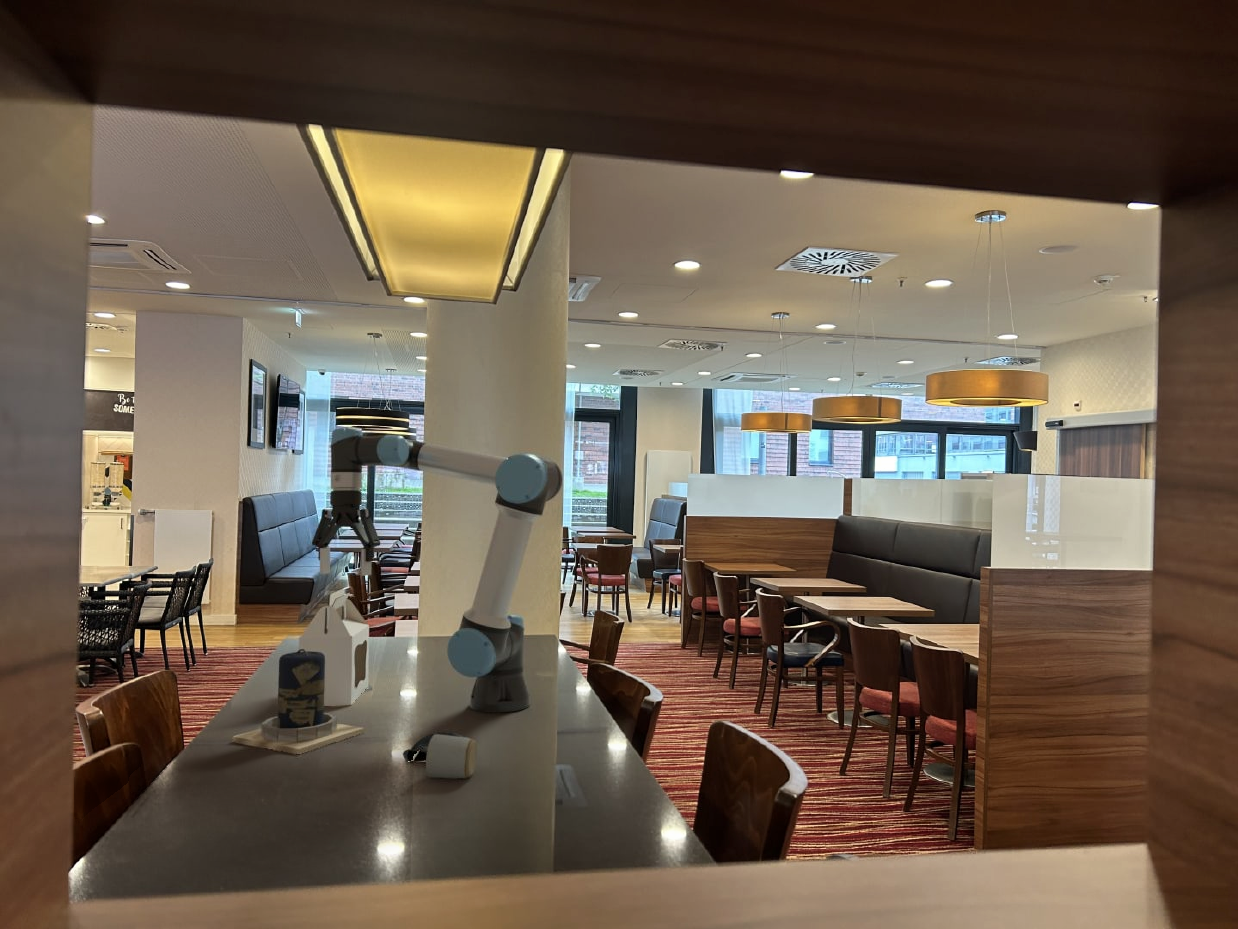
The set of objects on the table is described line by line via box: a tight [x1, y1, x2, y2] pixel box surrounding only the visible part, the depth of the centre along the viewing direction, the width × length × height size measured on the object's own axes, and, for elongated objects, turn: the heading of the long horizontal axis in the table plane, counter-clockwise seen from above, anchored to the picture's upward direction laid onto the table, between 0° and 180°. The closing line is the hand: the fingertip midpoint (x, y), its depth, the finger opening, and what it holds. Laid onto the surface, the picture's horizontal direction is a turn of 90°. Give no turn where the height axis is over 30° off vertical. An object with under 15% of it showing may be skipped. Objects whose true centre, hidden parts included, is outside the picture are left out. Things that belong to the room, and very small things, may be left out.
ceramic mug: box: [425, 734, 478, 779], centre depth 155 cm, size 11×8×8 cm
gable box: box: [298, 588, 370, 707], centre depth 219 cm, size 22×13×28 cm, turn 6°
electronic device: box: [402, 731, 463, 763], centre depth 169 cm, size 9×6×15 cm
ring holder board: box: [232, 712, 365, 755], centre depth 180 cm, size 20×18×4 cm
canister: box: [277, 649, 325, 729], centre depth 180 cm, size 10×10×18 cm
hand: (345, 574), depth 206 cm, fingers open, 13 cm apart
